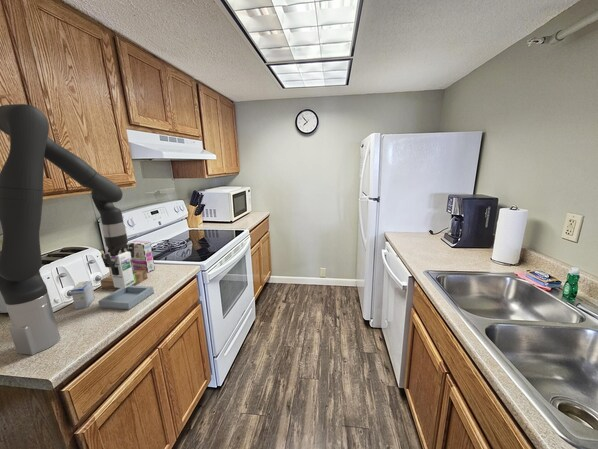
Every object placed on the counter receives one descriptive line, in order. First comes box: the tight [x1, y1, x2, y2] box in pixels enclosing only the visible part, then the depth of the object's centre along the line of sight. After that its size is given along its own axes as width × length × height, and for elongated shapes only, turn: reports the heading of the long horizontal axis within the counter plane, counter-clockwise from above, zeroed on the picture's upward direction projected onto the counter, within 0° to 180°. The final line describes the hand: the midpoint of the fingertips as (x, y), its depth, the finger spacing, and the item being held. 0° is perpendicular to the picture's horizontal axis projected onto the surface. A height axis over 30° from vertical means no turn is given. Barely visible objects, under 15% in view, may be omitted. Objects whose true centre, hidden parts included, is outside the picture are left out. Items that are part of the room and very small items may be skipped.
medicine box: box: [70, 280, 96, 310], centre depth 107 cm, size 8×4×9 cm, turn 21°
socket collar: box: [99, 270, 149, 291], centre depth 125 cm, size 13×13×4 cm
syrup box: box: [109, 251, 136, 288], centre depth 107 cm, size 6×6×14 cm
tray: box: [97, 285, 155, 311], centre depth 110 cm, size 14×14×3 cm
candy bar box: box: [128, 240, 156, 274], centre depth 139 cm, size 11×5×16 cm, turn 71°
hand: (122, 271), depth 107 cm, fingers closed on syrup box, 5 cm apart
